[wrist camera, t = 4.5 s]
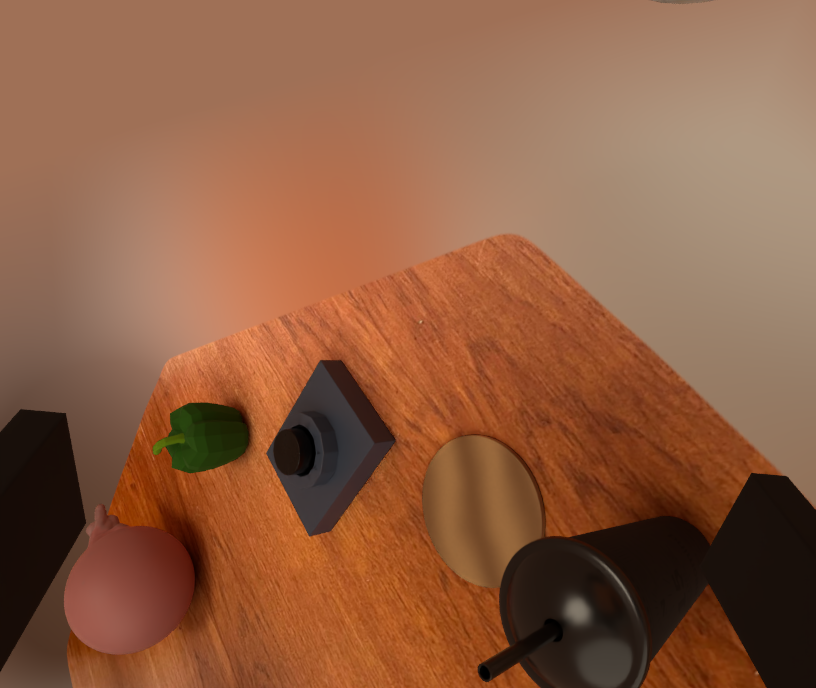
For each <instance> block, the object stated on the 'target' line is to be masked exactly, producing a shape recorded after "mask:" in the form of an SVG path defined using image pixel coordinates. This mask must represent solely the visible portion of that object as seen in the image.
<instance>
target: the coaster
mask: <svg viewBox="0 0 816 688" xmlns="http://www.w3.org/2000/svg"><path fill="white" fill-rule="evenodd" d="M422 504H423V513H424V519H425V523H426V527H427V530H428V533H429V536H430V538H431V540H432V543H433V545H434V546H435V548H436V550H437V552H438V553H439V555H440V556H441V558H442V559H443V560H444V562H445V563H446V564H447V565H448V566H449V567H450V568H451V569H452V570H453V571H454V572H455V573H456V574H458V575H459V576H460V577H461V578H463V579H465V580H466V581H468V582H470V583H473V584H475V585H478V586H482V587H489V588H496V587H500V586H501V580H502V577H503V574H504V571H505V569H506V567H507V565H508V563H509V561H510V560H511V558H512V557H513V555H514V554H515V553H516V552H517V551H518V550H519V549H520V548H522V547H523V546H524V545H526V544H528V543H530V542H532V541H534V540H537V539H540V538H544V534H545V512H544V506H543V501H542V497H541V494H540V491H539V488H538V485H537V483H536V481H535V479H534V477H533V475H532V473H531V471H530V470H529V468H528V467H527V465H526V464H525V463H524V461H523V460H522V459H521V458H520V457H519V456H518V455H517V454H516V453H515V452H514V451H513V450H512V449H511V448H509V447H508V446H507V445H505V444H504V443H502V442H500V441H498V440H496V439H494V438H491V437H488V436H483V435H467V436H461V437H458V438H455V439H453V440H451V441H449V442H448V443H447V444H445V445H444V446H443V447H442V448H441V449H440V450H439V451H438V452H437V453H436V455H435V456H434V457H433V459H432V461H431V463H430V464H429V467H428V469H427V472H426V475H425V479H424V484H423V494H422Z"/></svg>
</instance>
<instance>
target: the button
mask: <svg viewBox="0 0 816 688" xmlns="http://www.w3.org/2000/svg"><path fill="white" fill-rule="evenodd" d="M273 453H274V460H275V463H276V466H277V468H278V469H279V471H280V472H281V473H283V474H284V475H295V474H301V473H307V472H309V471H310V470H311V469H312V468H313V466H314V462H315V455H316V449H315V444H314V438H313V437H312V435H311V433H310V432H309V430H307V429H305V428H292V429H284V430H281V431H280V432H279V433H278V434H277V436H276V438H275V442H274V448H273Z"/></svg>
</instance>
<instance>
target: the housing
mask: <svg viewBox="0 0 816 688" xmlns="http://www.w3.org/2000/svg"><path fill="white" fill-rule="evenodd" d="M292 428H305V429H307V430H309V432H310V433H311V435H312V437H313V438H314V444H315V449H316V455H315V462H314V466H313V468H312V469H311V470H310V471H309V472H307V473H301V474H295V475H284V474H283V473H281V472H280V471H279V469H278V468H277V466H276V463H275V460H274V453H273V448H274V442H275V439H274V441H273V442H272V444H271V446H270V447H269V449H268V451H267V453H266V454H267V456H268V458H269V460H270V461H271V463H272V465H273V467H274V469H275V471H276V473H277V475H278V477H279V479H280V481H281V483H282V485H283V487H284V488H285V490H286V492H287V494H288V496H289V498H290V500H291V502H292V504H293V506H294V508H295V510H296V512H297V514H298V515H299V517H300V519H301V521H302V523H303V525H304V527H305V529H306V531H307V533H308V535H309V536H313V535H317V534H321V533H325V532H329V531H331V530H332V528H333V527H334V525H335V524H336V523H337V521H338V520H339V519H340V517H341V516H342V514H343V513H344V512H345V510H346V509H347V507H348V506H349V505H350V503H351V502H352V500H353V499H354V498H355V496H356V495H357V494H358V492H359V491H360V489H361V488H362V487H363V485H364V484H365V482H366V481H367V480H368V478H369V477H370V475H371V474H372V473H373V471H374V470H375V469H376V467H377V466H378V464H379V463H380V462H381V460H382V459H383V457H384V456H385V455H386V453H387V452H388V450H389V449H390V448H391V446H392V445H393V444H394V442H395V439H394V438H393V436H392V435H391V433H390V432H389V430H388V429H387V427H386V426H385V424H384V423H383V421H382V420H381V418H380V417H379V416H378V414H377V413H376V411H375V410H374V408H373V407H372V405H371V404H370V402H369V401H368V399H367V398H366V396H365V395H364V394H363V392H362V391H361V389H360V388H359V386H358V385H357V383H356V382H355V380H354V379H353V377H352V376H351V374H350V373H349V372H348V370H347V369H346V367H345V366H344V364H343V363H342V361H340V360H320V362H319V363H318V365H317V367H316V368H315V370H314V372H313V374H312V375H311V377H310V379H309V380H308V382H307V384H306V386H305V387H304V389H303V391H302V392H301V394H300V396H299V398H298V399H297V401H296V403H295V405H294V406H293V408H292V410H291V411H290V413H289V415H288V417H287V418H286V420H285V422H284V423H283V425H282V427H281V429H280V430H279V432H280V431H281V430H284V429H292ZM279 432H278V433H279ZM276 436H277V435H276ZM275 438H276V437H275Z"/></svg>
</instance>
